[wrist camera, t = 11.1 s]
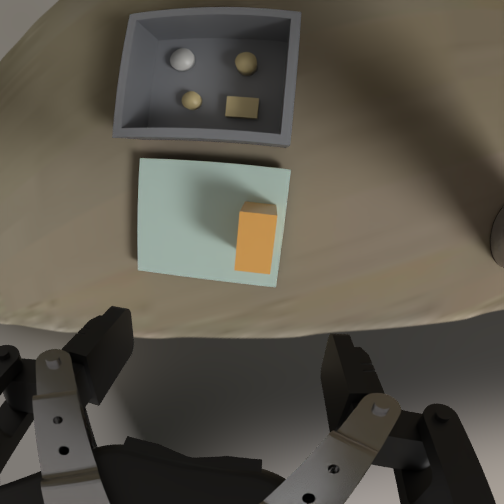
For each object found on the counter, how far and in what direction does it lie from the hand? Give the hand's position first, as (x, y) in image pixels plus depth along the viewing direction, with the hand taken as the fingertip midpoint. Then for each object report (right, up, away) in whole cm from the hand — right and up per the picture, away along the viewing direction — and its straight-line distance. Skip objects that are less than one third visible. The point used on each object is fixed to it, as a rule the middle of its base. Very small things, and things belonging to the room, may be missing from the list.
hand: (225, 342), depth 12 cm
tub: (-3, +20, +17) cm, 26 cm away
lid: (-3, +7, +21) cm, 23 cm away
